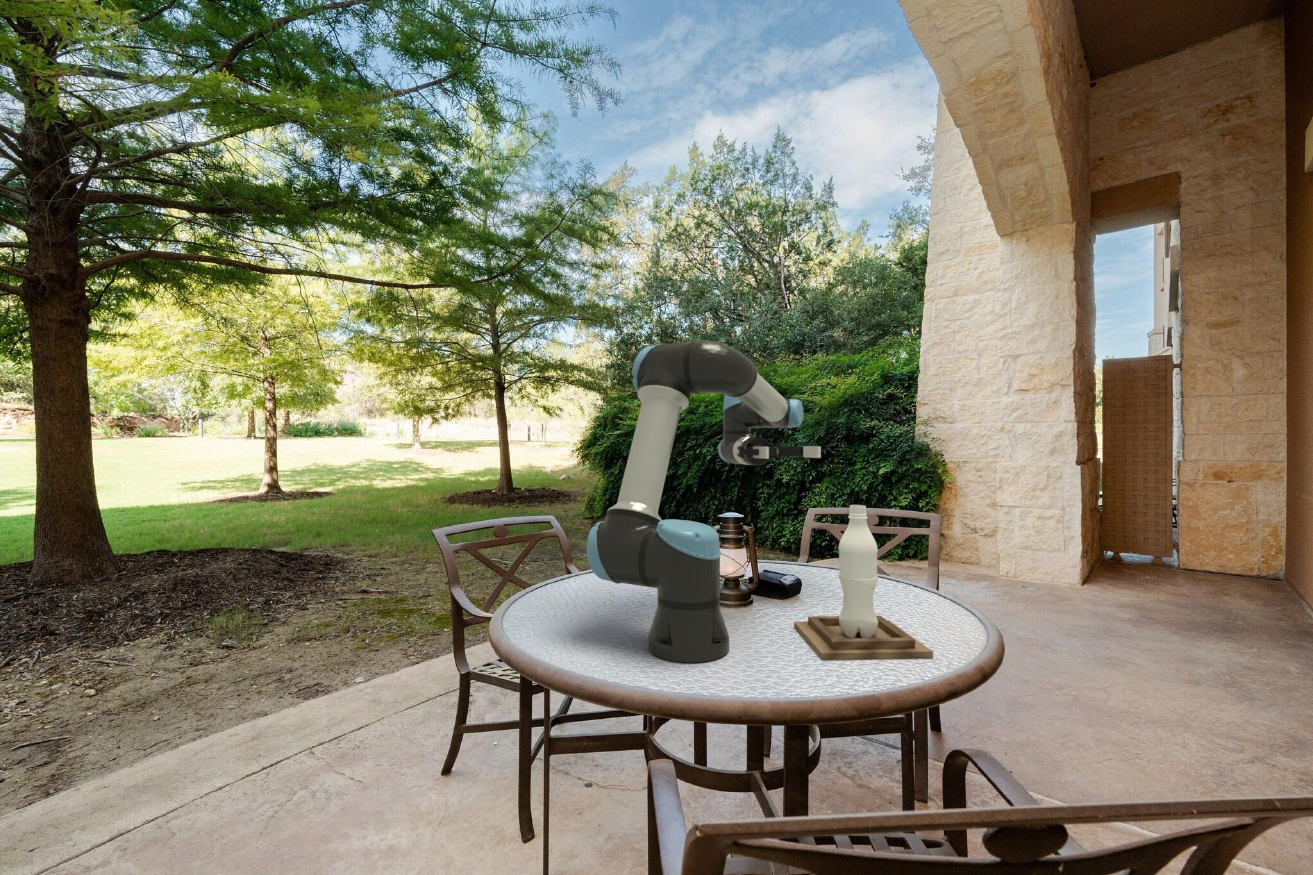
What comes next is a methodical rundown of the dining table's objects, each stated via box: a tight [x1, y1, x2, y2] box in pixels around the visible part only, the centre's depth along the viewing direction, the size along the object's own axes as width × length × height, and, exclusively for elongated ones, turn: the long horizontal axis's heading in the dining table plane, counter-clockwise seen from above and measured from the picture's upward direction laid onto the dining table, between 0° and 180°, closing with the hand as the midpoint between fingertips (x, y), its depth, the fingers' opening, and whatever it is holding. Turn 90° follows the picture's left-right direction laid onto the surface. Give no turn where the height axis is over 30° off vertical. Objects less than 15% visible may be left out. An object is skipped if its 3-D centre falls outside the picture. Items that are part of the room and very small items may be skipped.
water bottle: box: [838, 504, 879, 638], centre depth 113 cm, size 7×7×25 cm
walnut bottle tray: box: [793, 615, 934, 661], centre depth 113 cm, size 20×18×3 cm
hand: (793, 452), depth 136 cm, fingers open, 13 cm apart
